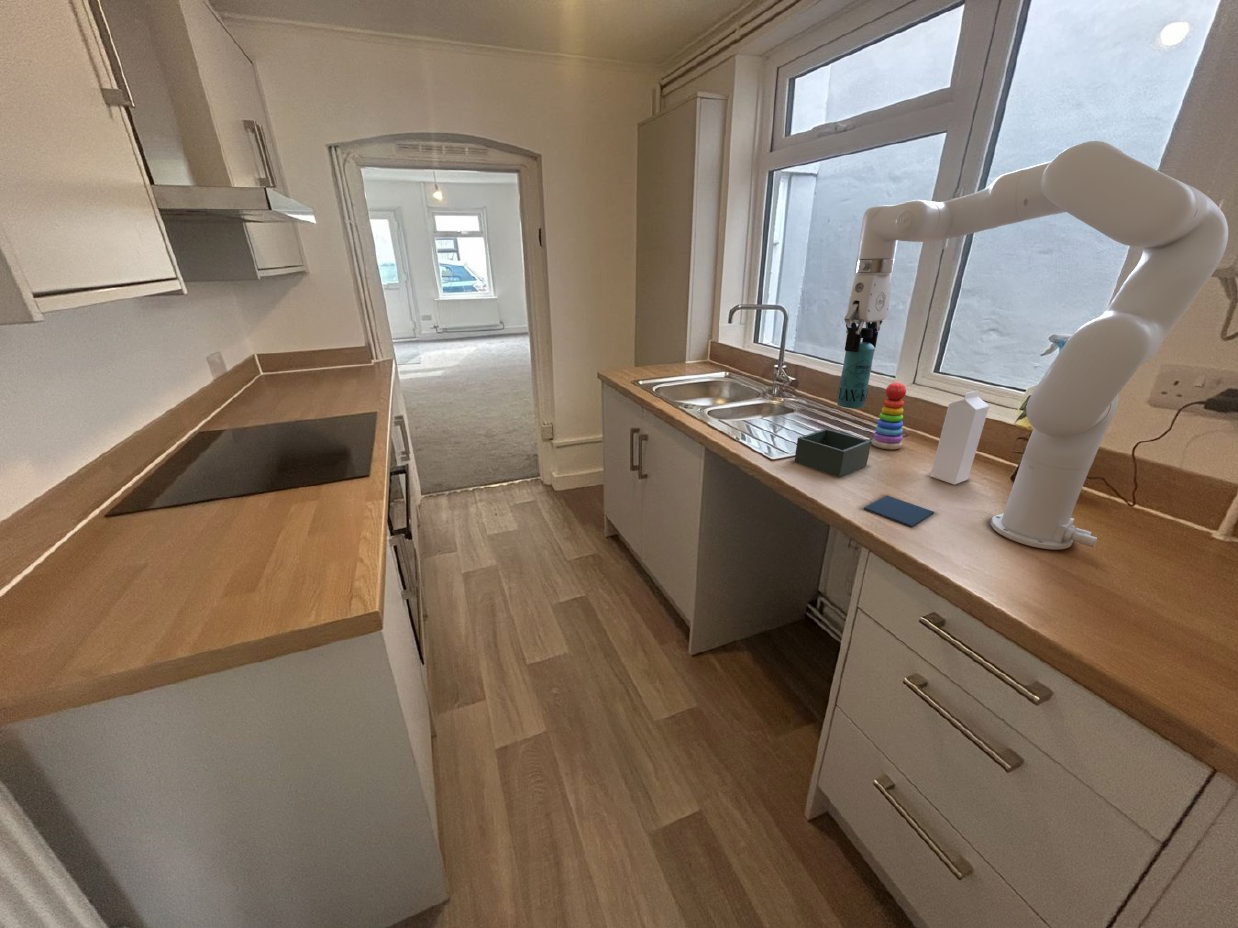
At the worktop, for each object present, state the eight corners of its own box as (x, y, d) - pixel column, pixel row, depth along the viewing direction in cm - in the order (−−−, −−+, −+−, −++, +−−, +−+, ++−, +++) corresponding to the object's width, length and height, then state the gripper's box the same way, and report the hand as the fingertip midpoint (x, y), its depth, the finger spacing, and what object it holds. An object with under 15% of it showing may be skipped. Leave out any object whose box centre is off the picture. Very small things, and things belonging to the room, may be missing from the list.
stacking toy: (894, 441, 145) (907, 380, 138) (906, 451, 138) (921, 386, 131) (866, 441, 146) (879, 379, 139) (877, 450, 138) (890, 386, 131)
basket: (866, 465, 128) (871, 440, 125) (839, 477, 120) (844, 451, 118) (821, 451, 137) (825, 428, 135) (794, 462, 130) (797, 437, 128)
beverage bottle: (829, 409, 121) (841, 327, 114) (851, 406, 123) (864, 326, 116) (848, 415, 116) (862, 330, 108) (870, 413, 117) (886, 328, 110)
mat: (933, 513, 103) (934, 511, 103) (911, 527, 97) (912, 525, 97) (886, 496, 110) (886, 495, 110) (863, 509, 105) (864, 507, 105)
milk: (929, 476, 121) (951, 390, 113) (943, 471, 124) (965, 387, 116) (955, 485, 116) (979, 395, 108) (968, 479, 119) (993, 392, 111)
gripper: (869, 268, 100) (855, 355, 106) (909, 268, 109) (894, 348, 116) (836, 269, 105) (824, 351, 112) (876, 268, 115) (863, 345, 121)
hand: (860, 349), depth 114 cm, fingers closed on beverage bottle, 6 cm apart
